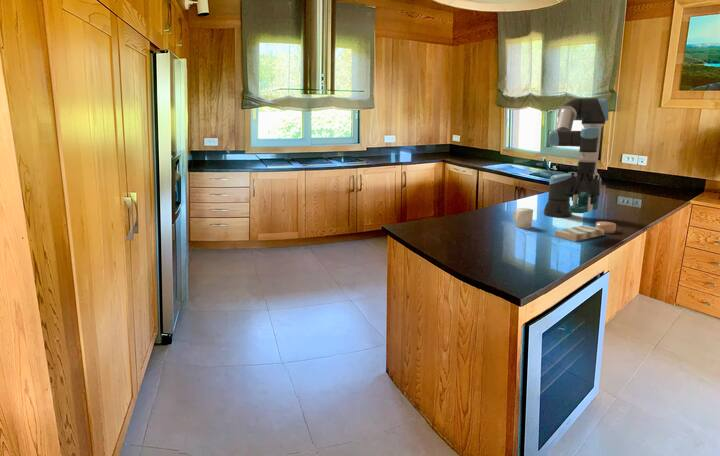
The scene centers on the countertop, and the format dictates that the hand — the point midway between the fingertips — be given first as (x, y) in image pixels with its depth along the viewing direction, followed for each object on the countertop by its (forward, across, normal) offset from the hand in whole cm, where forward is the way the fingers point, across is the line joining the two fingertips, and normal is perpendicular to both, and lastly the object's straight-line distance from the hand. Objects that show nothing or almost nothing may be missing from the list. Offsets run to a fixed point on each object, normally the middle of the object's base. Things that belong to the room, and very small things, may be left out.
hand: (582, 209), depth 238 cm
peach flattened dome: (+13, +1, +19) cm, 23 cm away
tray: (+13, 0, 0) cm, 13 cm away
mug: (+13, -28, -8) cm, 32 cm away
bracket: (+1, 0, 0) cm, 1 cm away
